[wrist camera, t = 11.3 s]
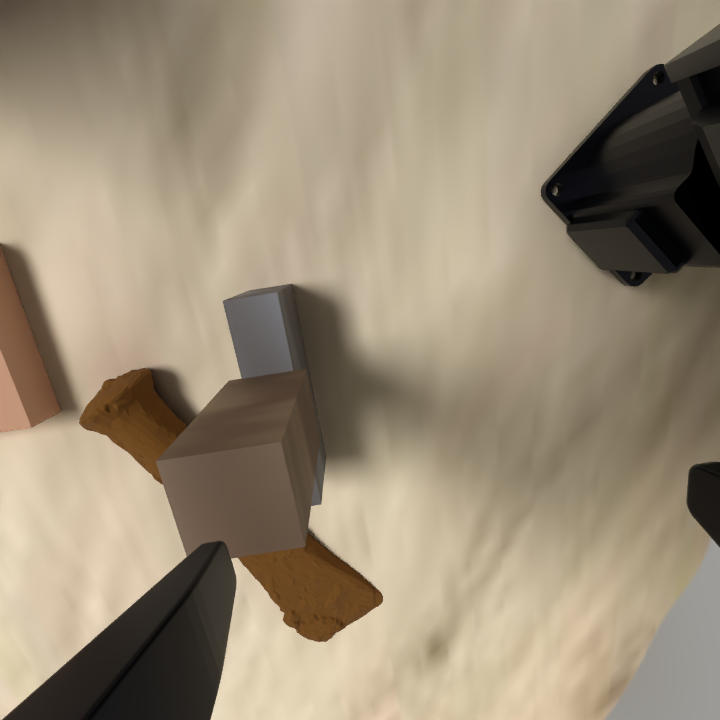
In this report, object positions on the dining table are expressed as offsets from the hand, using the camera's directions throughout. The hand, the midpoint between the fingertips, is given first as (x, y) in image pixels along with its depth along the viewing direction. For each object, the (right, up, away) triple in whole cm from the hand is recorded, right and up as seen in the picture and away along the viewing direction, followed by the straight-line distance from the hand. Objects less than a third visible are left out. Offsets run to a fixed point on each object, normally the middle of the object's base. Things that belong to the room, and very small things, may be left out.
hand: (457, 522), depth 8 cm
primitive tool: (-7, -5, +14) cm, 17 cm away
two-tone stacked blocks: (-5, +2, +12) cm, 13 cm away
